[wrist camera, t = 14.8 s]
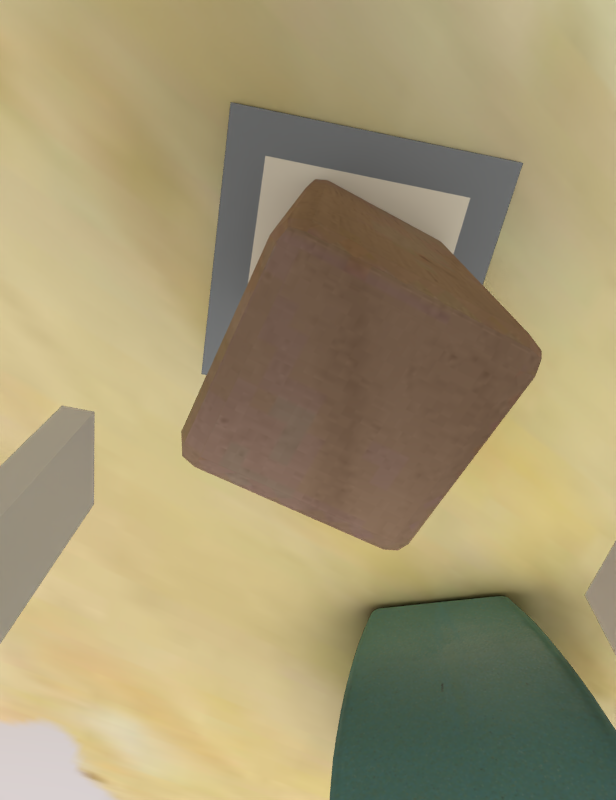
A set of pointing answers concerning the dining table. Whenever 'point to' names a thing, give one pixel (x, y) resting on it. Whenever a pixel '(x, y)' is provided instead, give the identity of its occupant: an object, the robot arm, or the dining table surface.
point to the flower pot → (468, 711)
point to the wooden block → (357, 371)
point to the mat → (355, 172)
